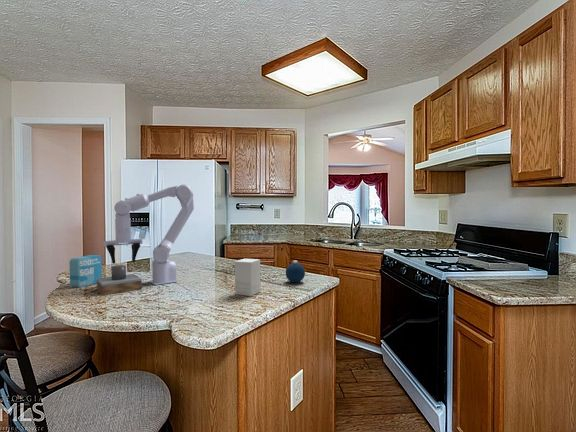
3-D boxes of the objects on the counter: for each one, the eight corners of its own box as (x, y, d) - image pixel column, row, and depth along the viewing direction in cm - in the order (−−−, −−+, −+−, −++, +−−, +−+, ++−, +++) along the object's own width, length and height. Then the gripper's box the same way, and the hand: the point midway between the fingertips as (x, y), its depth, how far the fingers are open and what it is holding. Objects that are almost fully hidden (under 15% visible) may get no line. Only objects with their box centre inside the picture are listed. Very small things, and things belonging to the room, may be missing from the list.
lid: (133, 275, 144) (133, 273, 144) (141, 280, 135) (141, 278, 135) (96, 280, 136) (96, 278, 136) (102, 286, 126) (102, 284, 126)
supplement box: (261, 291, 130) (261, 259, 130) (251, 296, 124) (251, 262, 123) (245, 289, 133) (244, 258, 133) (234, 294, 127) (234, 260, 126)
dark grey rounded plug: (124, 276, 139) (123, 264, 139) (127, 278, 135) (127, 266, 135) (110, 278, 136) (109, 266, 135) (113, 280, 132) (112, 268, 131)
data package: (78, 288, 138) (77, 259, 137) (69, 287, 139) (69, 258, 139) (102, 281, 149) (101, 254, 149) (94, 281, 150) (93, 254, 150)
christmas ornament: (294, 279, 151) (294, 257, 151) (309, 282, 146) (309, 259, 145) (281, 282, 145) (281, 259, 145) (295, 285, 140) (295, 261, 139)
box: (133, 283, 144) (133, 276, 144) (141, 289, 135) (141, 280, 135) (96, 289, 136) (96, 280, 136) (102, 295, 126) (102, 286, 126)
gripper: (105, 231, 133) (106, 265, 133) (144, 229, 142) (144, 261, 142) (102, 230, 138) (102, 263, 139) (139, 228, 147) (140, 259, 148)
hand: (123, 262), depth 141 cm, fingers open, 7 cm apart
